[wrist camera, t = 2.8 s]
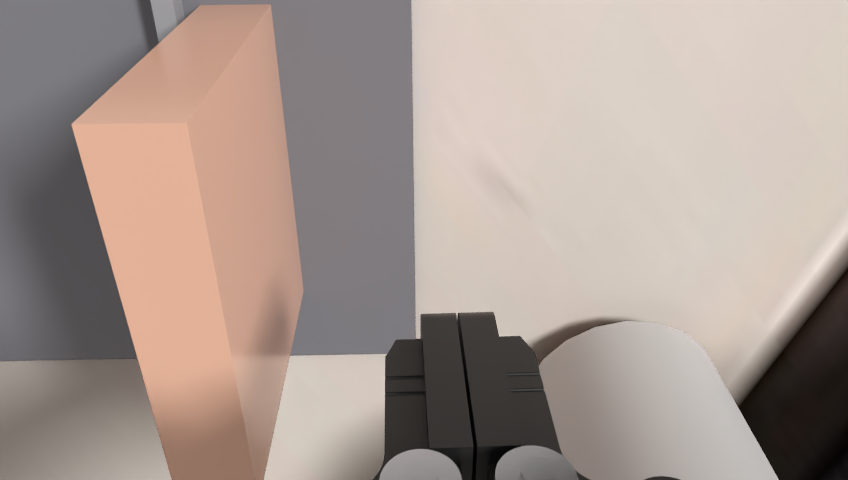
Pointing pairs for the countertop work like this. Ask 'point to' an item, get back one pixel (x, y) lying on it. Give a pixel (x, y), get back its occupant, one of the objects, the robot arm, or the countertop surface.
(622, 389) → the can
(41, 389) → the countertop surface
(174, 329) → the tile
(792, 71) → the countertop surface
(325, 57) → the mat
